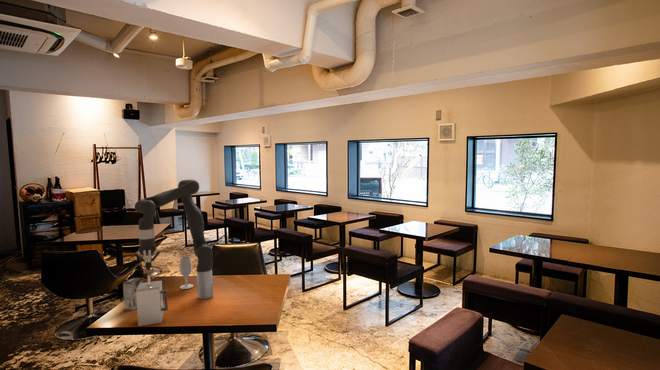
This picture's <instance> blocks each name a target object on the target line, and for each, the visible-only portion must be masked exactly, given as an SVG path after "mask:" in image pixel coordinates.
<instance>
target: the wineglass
mask: <svg viewBox="0 0 660 370" xmlns="http://www.w3.org/2000/svg"><path fill="white" fill-rule="evenodd" d="M178 267H179V273H180V275H182V276H183V277H184V278H185V279H184V280H185V284H182V285H180V286H179V289H181V290H189V289H192V288H193V287H194V284H192V283H188V277H189V276H190V275H191V273H192V272H193V263H192V258H191V256H189V255H186V256H181V257H180V259H179V265H178Z"/></svg>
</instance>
